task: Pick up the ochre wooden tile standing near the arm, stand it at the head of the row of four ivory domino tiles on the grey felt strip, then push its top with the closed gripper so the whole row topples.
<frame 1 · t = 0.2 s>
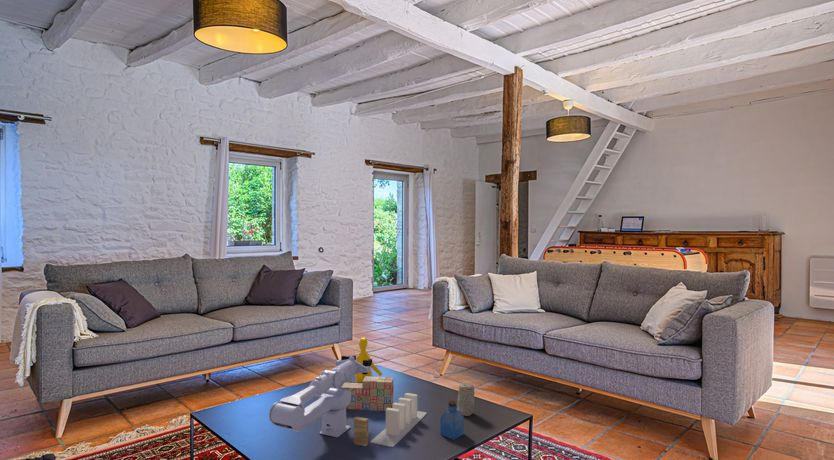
hand: (363, 359, 197), 21 cm above the table, tool horizontal, fingers open, 7 cm apart
domino 3: (399, 427, 181), resting on felt strip
stack of blocks: (367, 408, 202), on the table
figure statuette: (364, 382, 233), on the table
domino 2: (392, 433, 176), resting on felt strip
domino 4: (405, 422, 186), resting on felt strip
carving: (465, 414, 195), on the table
domino 5: (410, 416, 191), resting on felt strip
felt strip: (400, 426, 182), on the table
perfume bottle: (452, 434, 176), on the table
ochre tile: (361, 443, 169), on the table
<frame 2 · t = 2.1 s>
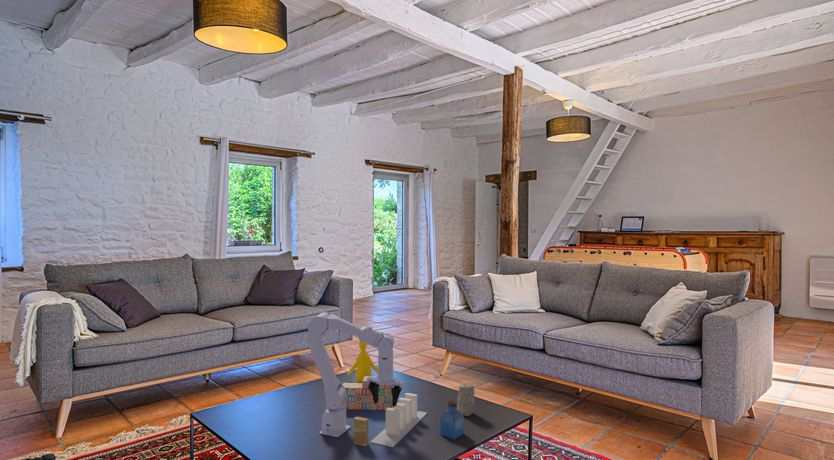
hand: (385, 404, 178), 10 cm above the table, tool pointing down, fingers open, 7 cm apart
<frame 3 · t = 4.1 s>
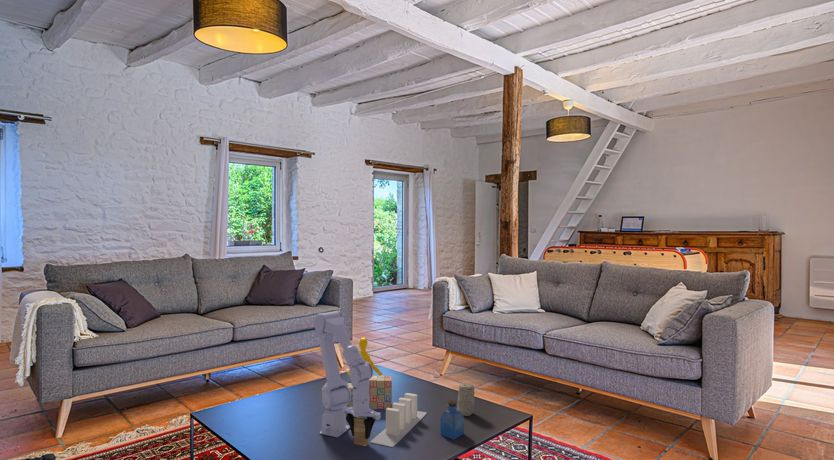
hand: (361, 436, 169), 3 cm above the table, tool pointing down, fingers closed on ochre tile, 5 cm apart
ochre tile: (361, 443, 169), on the table, touching gripper
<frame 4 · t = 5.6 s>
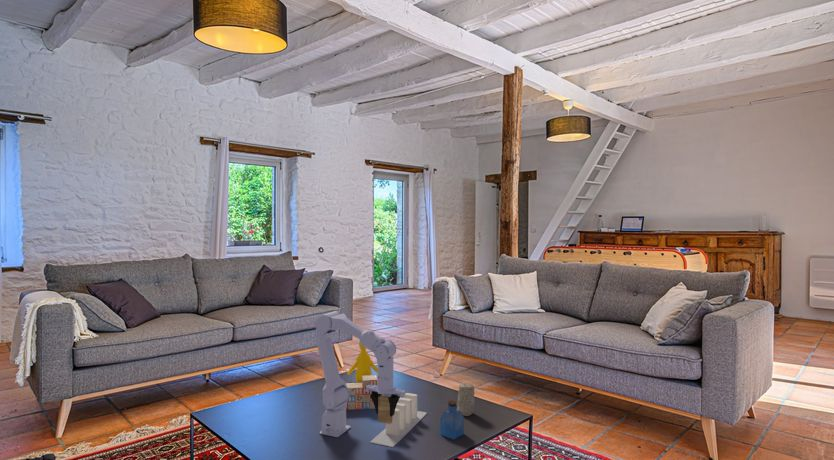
hand: (385, 414, 170), 10 cm above the table, tool pointing down, fingers closed on ochre tile, 5 cm apart
ochre tile: (385, 422, 170), point 7 cm above the table, touching gripper
when the fingers open (3 cm above the table, at t = 7.2 s): ochre tile stays where it is, resting on felt strip.
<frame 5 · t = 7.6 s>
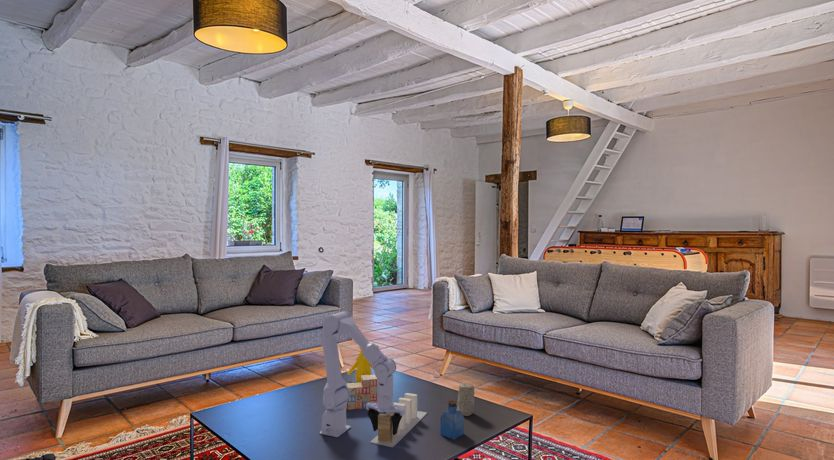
hand: (385, 431, 170), 3 cm above the table, tool pointing down, fingers open, 7 cm apart
ochre tile: (385, 440, 170), resting on felt strip
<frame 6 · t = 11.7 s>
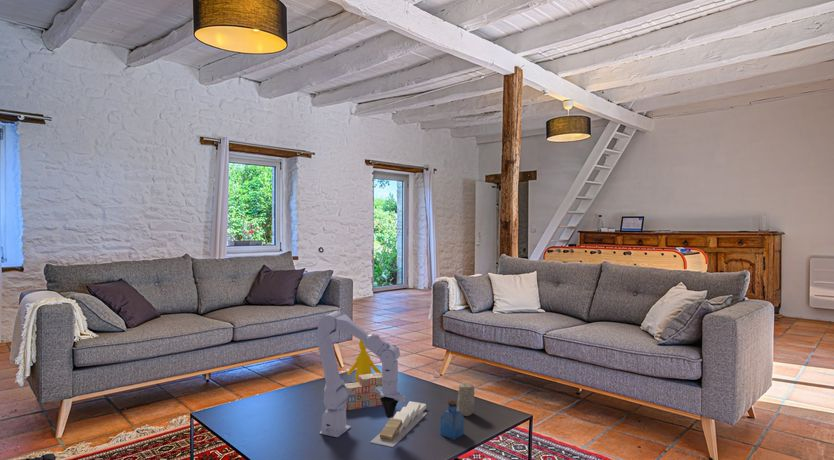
hand: (389, 417, 174), 7 cm above the table, tool pointing down, fingers closed
domino 3: (399, 424, 182), point 1 cm above the table, tilted 72°, touching domino 2, domino 4, felt strip
stack of blocks: (363, 405, 204), on the table
domino 2: (393, 430, 177), point 1 cm above the table, tilted 71°, touching domino 3, felt strip, ochre tile
domino 4: (406, 418, 187), point 1 cm above the table, tilted 72°, touching domino 3, domino 5, felt strip
domino 5: (412, 413, 192), point 1 cm above the table, tilted 90°, touching domino 4, felt strip
ochre tile: (385, 437, 171), point 1 cm above the table, tilted 72°, touching domino 2, felt strip
everything else where it was.
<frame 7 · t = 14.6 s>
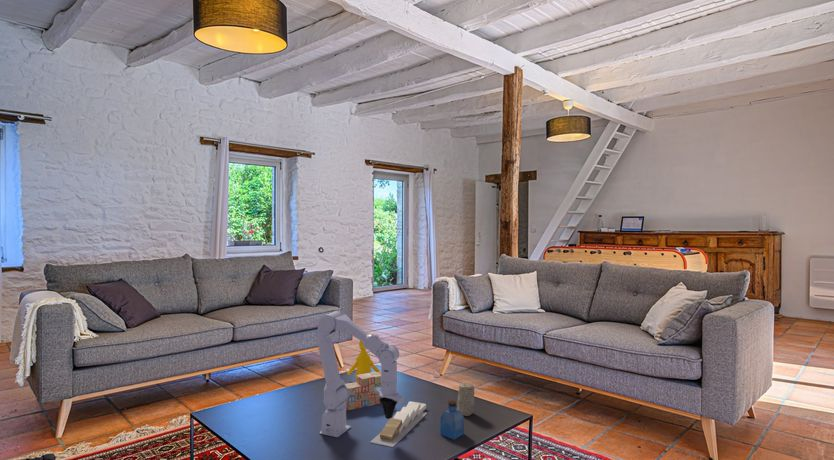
hand: (388, 417, 173), 7 cm above the table, tool pointing down, fingers closed
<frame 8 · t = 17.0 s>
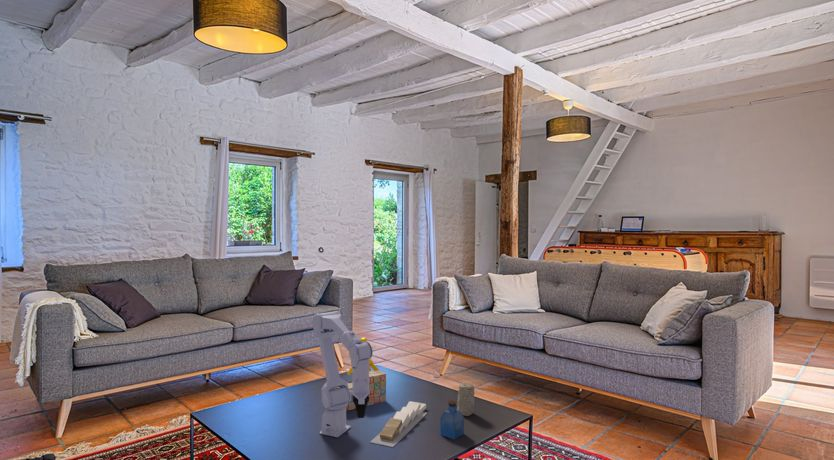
hand: (360, 417, 166), 10 cm above the table, tool pointing down, fingers closed
at the end: domino 5 tilted 90°; ochre tile tilted 72°; ochre tile inside the target area (2.5 cm from its centre), point 1.2 cm above the table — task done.
